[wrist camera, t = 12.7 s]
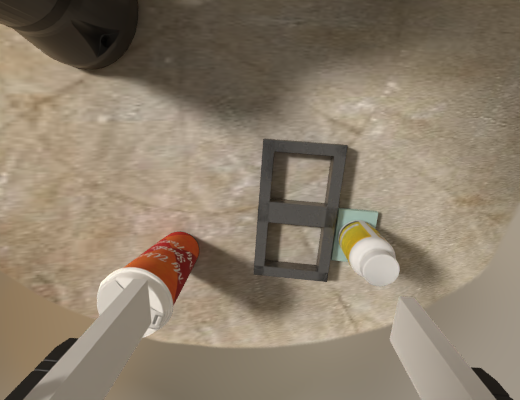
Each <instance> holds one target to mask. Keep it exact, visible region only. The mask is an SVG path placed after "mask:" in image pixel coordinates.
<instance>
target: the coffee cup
mask: <svg viewBox="0 0 520 400" xmlns="http://www.w3.org/2000/svg"><path fill="white" fill-rule="evenodd" d="M198 255H199V246H198V243H197V242H196V240H195V239H194V238H193V237H192V236H191V235H189V234H187V233H185V232H174V233H171V234H169V235H168V236H166V237H165V238H163V239H162V240H160V241H159V242H158V243H156V244H155V245H154V246H152V247H151V248H150V249H148V250H147V251H145V252H144V253H143V254H141V255H140V256H139V257H137V258H136V259H135V260H133V261H132V262H131V263H129V264H128V265H127V266H125V267H124V268H121V269H118V270H116V271H114V272H112V273H111V274H109V275H108V276H107V277H106V278H105V279H104V280H103V281H102V282H101V284H100V287H99V290H98V294H97V308H98V312H99V315H101V314H102V313H103V312H104V311H105V309H106V308H107V307H108V306H109V305H110V304H111V303H112V302H113V301H114V300H115V299H116V297H117V296H118V295H119V294H120V293H121V292H122V291H123V290H124V289H125V288H126V287H127V285H128V284H129V283H130V282H131V281H132V280H133V279H144V280H148V289H149V300H150V311H151V321H152V323H151V324H150V326H149V328H148V329H147V331H146V332H145V334H144V336H143V337H147V336H149V335H151V334H153V333H154V332H156V331H157V330H159V329H161V328H162V327H164V326H165V325H166V324H167V322H168V321H169V319H170V317H171V315H172V312H173V305H174V303H175V302H176V300H177V298H178V296H179V294H180V292H181V290H182V288H183V286H184V284H185V282H186V280H187V278H188V276H189V274H190V272H191V270H192V268H193V266H194V264H195V262H196V260H197V258H198ZM143 337H142V338H143Z"/></svg>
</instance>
